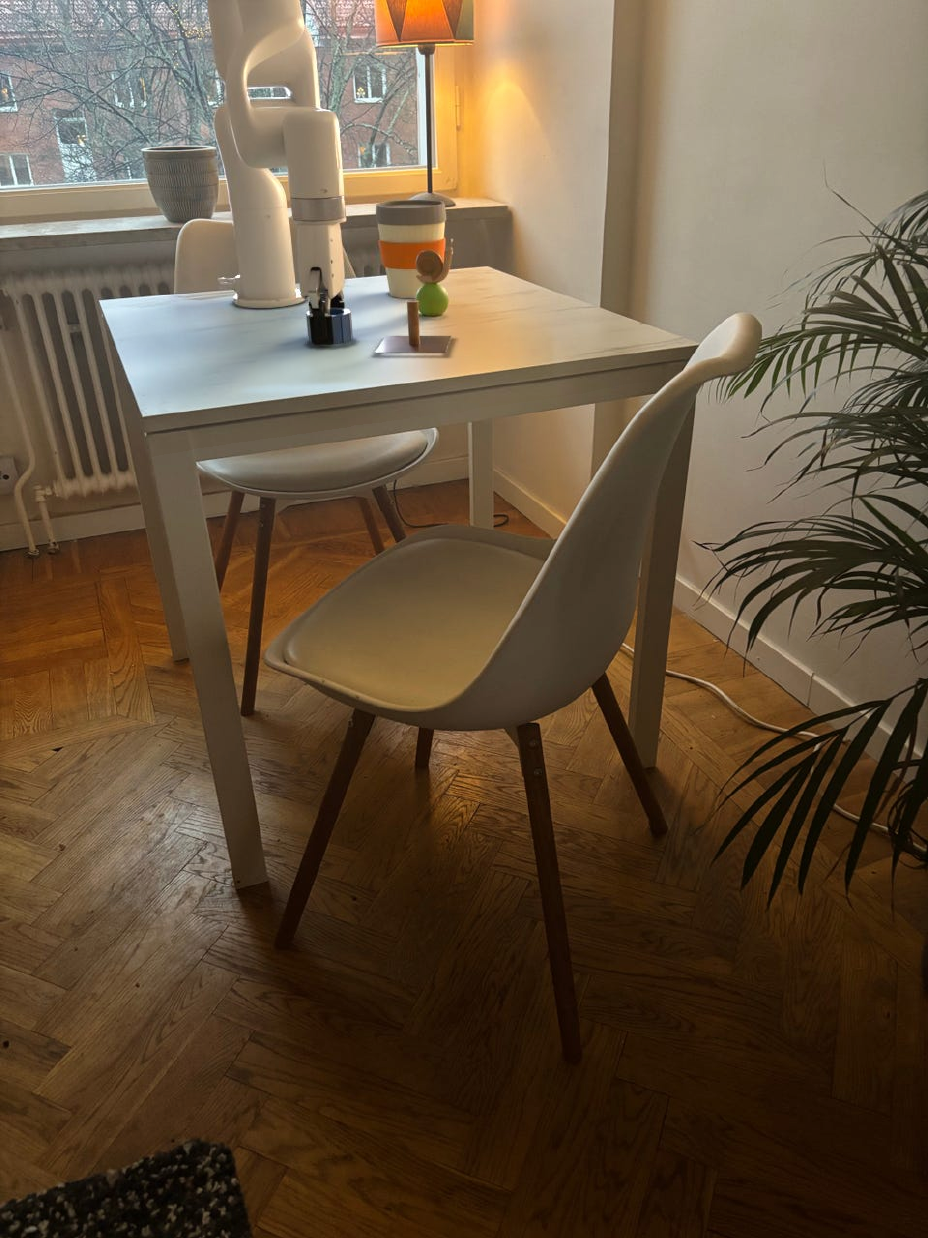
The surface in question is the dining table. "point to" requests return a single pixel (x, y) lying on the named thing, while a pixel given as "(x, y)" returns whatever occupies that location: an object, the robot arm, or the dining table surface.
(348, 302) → the dining table surface
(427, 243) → the reusable coffee cup
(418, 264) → the snail figurine
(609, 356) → the dining table surface
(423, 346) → the dowel stand
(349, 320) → the blue ring
